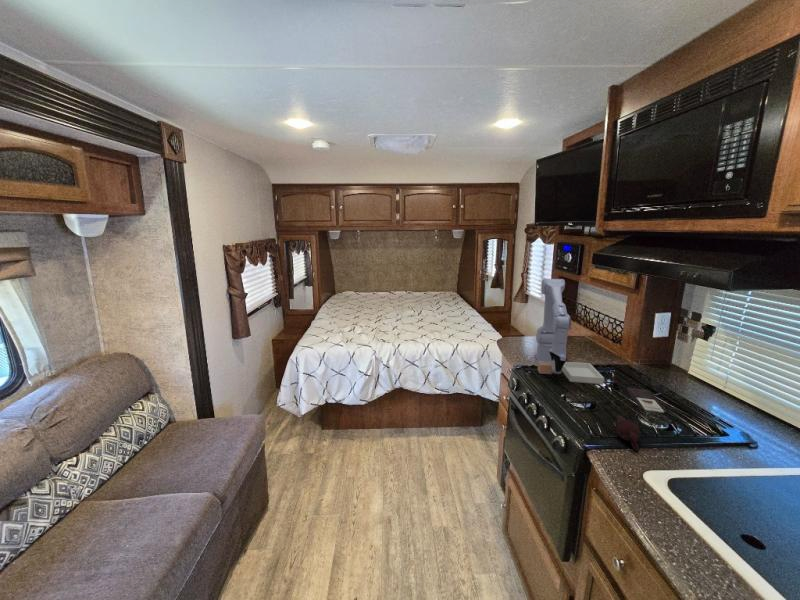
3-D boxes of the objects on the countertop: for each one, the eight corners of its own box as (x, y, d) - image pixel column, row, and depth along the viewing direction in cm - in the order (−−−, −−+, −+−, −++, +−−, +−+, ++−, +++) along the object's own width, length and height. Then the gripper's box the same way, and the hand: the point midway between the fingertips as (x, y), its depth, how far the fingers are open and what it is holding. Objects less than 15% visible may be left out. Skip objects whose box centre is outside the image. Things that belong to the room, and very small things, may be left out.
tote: (559, 367, 164) (560, 361, 163) (589, 368, 162) (589, 363, 161) (570, 381, 149) (571, 375, 148) (603, 384, 146) (604, 378, 146)
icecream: (605, 407, 116) (621, 436, 102) (629, 406, 114) (649, 435, 100) (607, 423, 118) (624, 454, 104) (631, 422, 116) (650, 453, 102)
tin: (549, 369, 153) (550, 358, 152) (559, 370, 152) (560, 359, 151) (552, 373, 149) (553, 362, 148) (562, 374, 148) (563, 363, 147)
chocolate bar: (649, 390, 140) (668, 412, 124) (649, 391, 140) (668, 414, 124) (625, 386, 143) (640, 408, 126) (625, 388, 143) (640, 410, 126)
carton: (537, 370, 161) (538, 361, 160) (549, 370, 160) (550, 362, 159) (539, 373, 157) (540, 365, 156) (551, 374, 156) (552, 365, 155)
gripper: (545, 335, 155) (543, 361, 158) (555, 346, 141) (551, 375, 144) (561, 336, 154) (558, 362, 157) (572, 347, 140) (568, 376, 143)
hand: (556, 368), depth 150 cm, fingers closed on tin, 4 cm apart
